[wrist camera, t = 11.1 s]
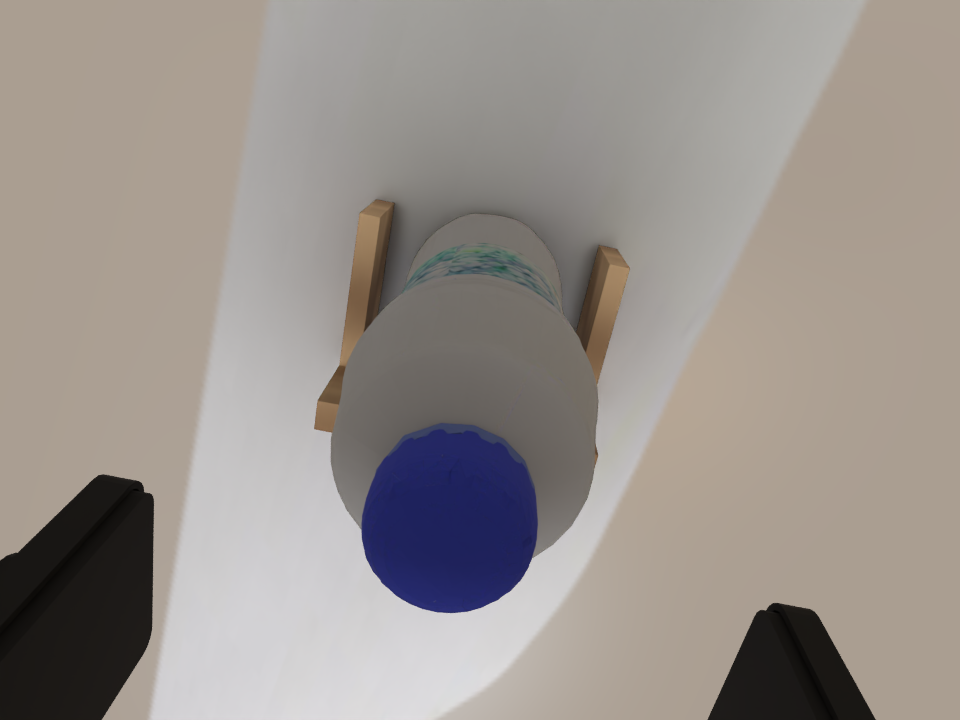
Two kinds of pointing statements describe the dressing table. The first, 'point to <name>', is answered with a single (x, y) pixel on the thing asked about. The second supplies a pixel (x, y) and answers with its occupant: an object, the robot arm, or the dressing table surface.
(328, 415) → the wooden u-shaped piece
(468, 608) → the bottle
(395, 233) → the dressing table surface
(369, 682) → the dressing table surface
